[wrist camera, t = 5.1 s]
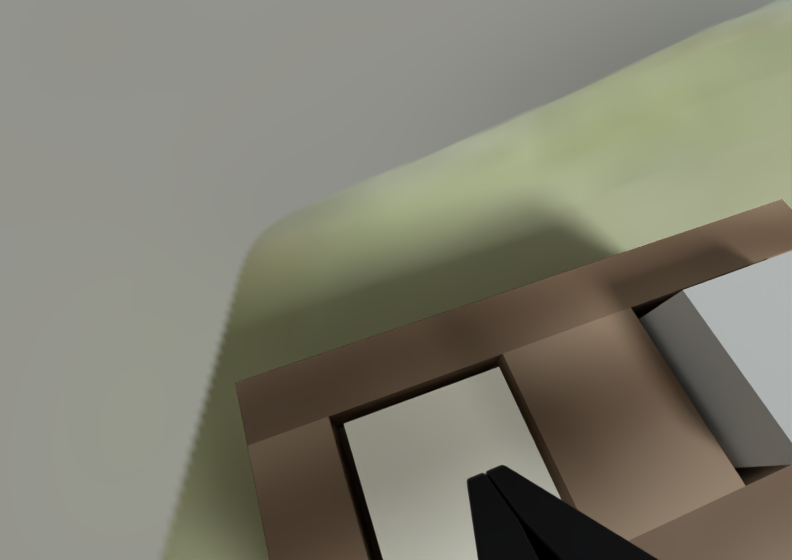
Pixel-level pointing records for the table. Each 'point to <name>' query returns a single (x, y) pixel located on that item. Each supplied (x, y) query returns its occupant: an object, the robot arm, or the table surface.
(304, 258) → the table surface
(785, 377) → the grey button
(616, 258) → the brown rectangular box
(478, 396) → the cream button
